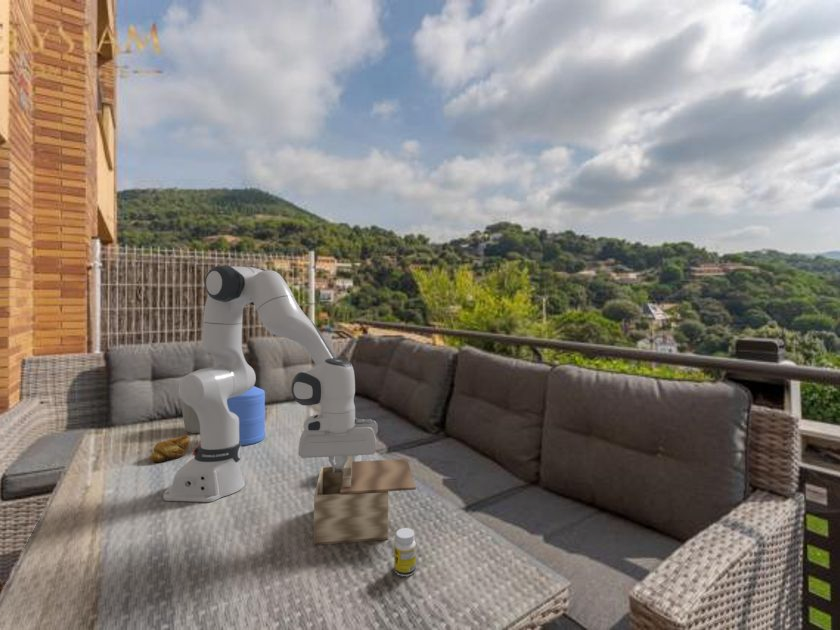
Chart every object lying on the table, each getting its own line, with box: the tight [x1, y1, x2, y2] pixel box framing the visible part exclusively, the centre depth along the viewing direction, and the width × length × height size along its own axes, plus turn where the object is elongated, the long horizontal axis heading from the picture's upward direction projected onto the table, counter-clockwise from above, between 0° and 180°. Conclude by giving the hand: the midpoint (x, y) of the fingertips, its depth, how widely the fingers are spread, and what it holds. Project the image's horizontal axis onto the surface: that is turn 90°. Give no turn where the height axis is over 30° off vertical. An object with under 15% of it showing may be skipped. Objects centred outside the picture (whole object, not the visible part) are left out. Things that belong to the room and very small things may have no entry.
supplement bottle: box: [393, 527, 417, 577], centre depth 88 cm, size 5×5×8 cm
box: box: [313, 465, 389, 546], centre depth 107 cm, size 18×18×12 cm
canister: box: [178, 395, 200, 434], centre depth 184 cm, size 18×18×21 cm
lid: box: [340, 457, 417, 494], centre depth 107 cm, size 19×19×3 cm
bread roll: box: [149, 435, 190, 463], centre depth 151 cm, size 13×10×8 cm
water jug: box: [227, 385, 266, 447], centre depth 171 cm, size 16×16×28 cm
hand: (338, 471), depth 106 cm, fingers closed
